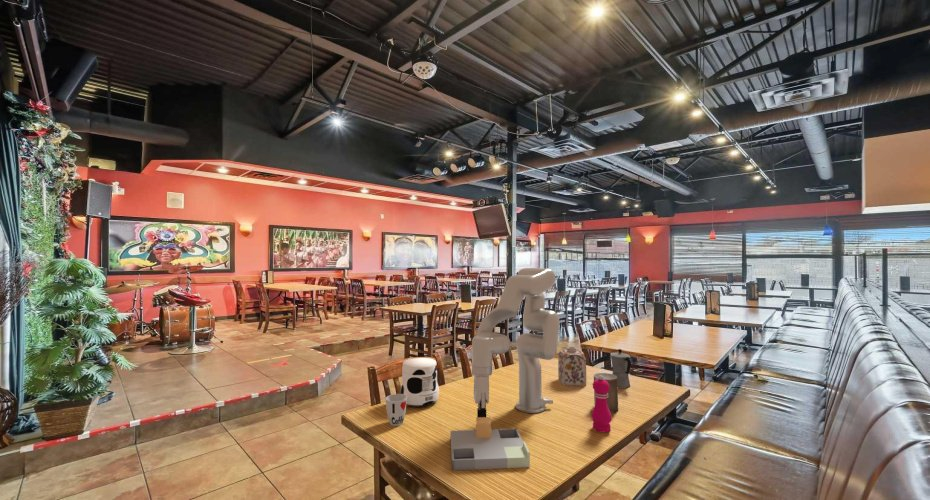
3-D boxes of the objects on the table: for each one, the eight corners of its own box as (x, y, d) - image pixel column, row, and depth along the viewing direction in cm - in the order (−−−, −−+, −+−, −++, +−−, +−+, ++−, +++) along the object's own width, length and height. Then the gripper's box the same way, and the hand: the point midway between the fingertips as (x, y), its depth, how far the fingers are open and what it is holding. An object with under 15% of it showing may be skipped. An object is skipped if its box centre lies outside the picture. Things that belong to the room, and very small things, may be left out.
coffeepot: (605, 381, 199) (604, 346, 199) (621, 380, 200) (621, 345, 201) (621, 391, 184) (621, 353, 184) (639, 390, 185) (639, 353, 185)
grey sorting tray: (517, 436, 138) (516, 424, 138) (529, 467, 118) (529, 452, 118) (450, 439, 137) (450, 426, 137) (452, 470, 117) (452, 455, 117)
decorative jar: (586, 386, 191) (586, 350, 192) (563, 386, 192) (563, 350, 192) (580, 378, 203) (579, 344, 204) (558, 378, 204) (557, 344, 204)
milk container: (410, 393, 183) (410, 356, 183) (444, 397, 178) (444, 358, 178) (393, 407, 166) (393, 366, 166) (430, 412, 161) (430, 369, 161)
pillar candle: (621, 407, 164) (621, 372, 164) (612, 414, 157) (611, 377, 157) (599, 402, 171) (599, 368, 171) (590, 408, 163) (589, 373, 164)
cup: (389, 429, 145) (389, 402, 145) (383, 421, 152) (383, 396, 152) (409, 424, 149) (409, 399, 149) (403, 417, 156) (402, 392, 156)
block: (490, 431, 136) (490, 417, 136) (491, 438, 131) (490, 423, 131) (476, 431, 136) (476, 417, 136) (476, 438, 131) (476, 423, 131)
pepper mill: (609, 434, 139) (608, 379, 140) (589, 430, 143) (588, 376, 143) (613, 427, 145) (612, 374, 146) (594, 423, 149) (593, 371, 150)
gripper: (470, 364, 150) (470, 412, 149) (473, 375, 135) (473, 428, 134) (489, 364, 150) (489, 411, 149) (494, 375, 135) (494, 428, 134)
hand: (481, 419), depth 142 cm, fingers closed
